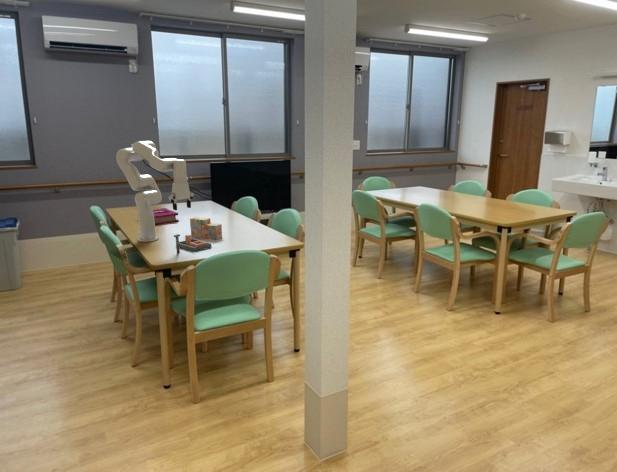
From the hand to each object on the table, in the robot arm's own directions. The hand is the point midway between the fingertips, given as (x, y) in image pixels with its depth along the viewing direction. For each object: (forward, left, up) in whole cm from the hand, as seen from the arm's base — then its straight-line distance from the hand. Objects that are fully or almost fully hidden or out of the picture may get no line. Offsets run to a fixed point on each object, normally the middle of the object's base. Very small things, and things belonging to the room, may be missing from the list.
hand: (182, 208), depth 281 cm
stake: (+12, -13, -23) cm, 29 cm away
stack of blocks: (-7, +22, -23) cm, 33 cm away
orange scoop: (+8, +1, -22) cm, 24 cm away
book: (-78, +30, -24) cm, 87 cm away
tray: (+8, +1, -23) cm, 24 cm away
